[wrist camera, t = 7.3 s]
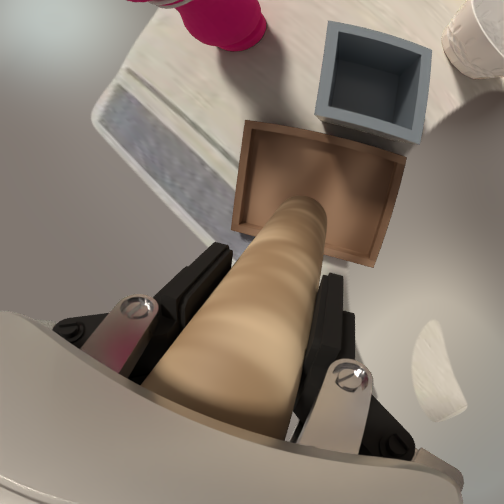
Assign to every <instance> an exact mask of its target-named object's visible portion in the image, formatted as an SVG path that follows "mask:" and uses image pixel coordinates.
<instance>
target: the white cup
mask: <svg viewBox="0 0 504 504" xmlns="http://www.w3.org/2000/svg"><path fill="white" fill-rule="evenodd" d="M441 40H442V44H443V49H444V52H445V53H446V55H447V57H448V58H449V60H450V62H451V63H452V64H453V65H454V66H455V67H456V68H457V69H458V70H459V71H460V72H461V73H462V74H464V75H466V76H468V77H470V78H472V79H485V78H496V77H504V0H467V1H466V2H465V3H464V4H463V5H462V7H461V8H460V9H459V10H458V11H457V13H456V14H455V16H454V17H453V18H452V19H451V21H450V23H449V24H448V25H447V27H446V28H445V29H444V31H443V35H442V38H441Z"/></svg>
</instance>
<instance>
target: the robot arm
mask: <svg viewBox="0 0 504 504" xmlns="http://www.w3.org/2000/svg"><path fill="white" fill-rule="evenodd" d="M232 256H233V251H232V250H230V249H229V246H228V245H225V244H221V243H217V242H214V243H213V244H212V245H211V246H210V247H209V248H208V249H207V250H205V251H204V253H202V254H201V255H200V256H199V257H198V258H197V259H196V260H195V261H194V262H193V263H192V264H191V265H190V266H186V267H185V268H183V269H182V270H181V271H180V272H179V273H178V274H177V275H176V276H175V277H174V278H173V279H172V280H171V281H170V282H169V283H168V284H166V285H165V286H164V287H163V288H162V289H161V290H160V291H159V292H158V293H157V294H156V295H155V296H154V297H153V298H152V297H150V296H147V295H142V294H133V295H129V296H127V297H124V298H123V299H121V300H120V301H119V302H118V303H117V304H116V306H115V307H114V308H113V309H112V310H111V311H110V313H105V314H97V315H89V316H82V317H74V318H67V319H64V320H62V321H60V322H59V323H57V324H56V322H55V321H45V320H36V319H32V318H29V317H27V316H25V315H22V314H19V313H15V312H11V311H0V504H463V499H462V494H461V491H462V489H463V484H464V480H463V476H462V474H461V472H460V471H459V470H458V469H456V468H455V467H453V466H451V465H450V464H448V463H446V462H445V461H443V460H441V459H439V458H438V457H436V456H435V455H433V454H431V453H430V452H428V451H426V450H425V449H423V448H420V449H419V450H418V449H416V448H415V443H414V440H413V438H412V436H411V435H410V434H409V433H408V432H407V431H406V430H405V429H404V428H403V426H402V425H401V424H400V423H399V422H398V421H397V420H396V419H395V418H394V417H393V416H392V415H391V414H390V413H389V412H388V411H387V410H386V409H385V408H384V407H383V406H382V405H381V404H380V403H379V402H378V400H377V399H376V398H375V397H374V396H373V395H372V389H373V377H372V374H371V372H370V371H369V370H368V368H367V367H366V366H364V365H363V364H362V363H360V362H358V361H356V360H355V315H354V313H351V312H347V311H343V276H341V275H337V274H333V273H329V275H328V276H326V275H323V277H322V280H321V283H320V286H319V289H318V292H317V297H316V302H315V308H314V313H313V319H312V324H311V329H310V334H309V339H308V344H307V349H306V354H305V358H304V363H303V369H302V375H301V379H300V384H299V388H298V392H297V396H296V400H295V404H294V408H293V412H294V413H295V414H296V416H297V417H298V418H299V420H298V422H297V424H296V426H295V429H294V431H293V433H292V435H291V437H290V439H289V441H288V442H287V441H283V440H279V439H276V438H272V437H268V436H265V435H261V434H258V433H254V432H251V431H248V430H245V429H242V428H239V427H236V426H233V425H230V424H227V423H224V422H221V421H219V420H216V419H213V418H211V417H208V416H205V415H203V414H200V413H198V412H195V411H193V410H191V409H188V408H186V407H184V406H181V405H179V404H177V403H175V402H173V401H170V400H168V399H166V398H164V397H162V396H160V395H158V394H156V393H154V392H152V391H150V390H148V389H146V388H144V387H142V386H140V385H141V384H142V383H143V382H144V380H145V379H146V378H147V376H148V375H149V374H150V372H151V371H152V370H153V369H154V367H155V366H156V365H157V363H158V362H159V361H160V359H161V358H162V357H163V355H164V354H165V353H166V352H167V350H168V349H169V348H170V346H171V345H172V344H173V342H174V341H175V340H176V339H177V337H178V336H179V335H180V333H181V332H182V331H183V330H184V328H185V327H186V326H187V324H188V323H189V322H190V320H191V319H192V318H193V317H194V315H195V314H196V313H197V311H198V310H199V309H200V308H201V306H202V305H203V304H204V302H205V301H206V300H207V299H208V297H209V296H210V295H211V293H212V292H213V291H214V290H215V288H216V287H217V286H218V284H219V283H220V282H221V281H222V279H223V278H224V277H225V275H226V274H227V273H228V272H229V270H230V269H231V264H232Z"/></svg>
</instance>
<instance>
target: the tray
mask: <svg viewBox="0 0 504 504" xmlns="http://www.w3.org/2000/svg"><path fill="white" fill-rule="evenodd" d="M406 159H407V157H404V156H402V155H399V154H396V153H393V152H389V151H386V150H383V149H380V148H377V147H373V146H370V145H366V144H363V143H359V142H356V141H352V140H348V139H344V138H340V137H336V136H332V135H328V134H323V133H319V132H314V131H310V130H305V129H300V128H294V127H289V126H283V125H277V124H271V123H264V122H257V121H250V120H245V125H244V132H243V139H242V146H241V154H240V161H239V169H238V176H237V184H236V192H235V200H234V208H233V216H232V225H231V230H233V231H237V232H240V233H244V234H248V235H252V236H257V235H258V233H259V232H260V231H261V229H262V228H263V227H264V226H265V224H266V223H267V222H268V221H269V219H270V218H271V217H272V216H273V214H274V213H275V212H276V210H277V209H278V208H279V207H280V205H281V204H282V203H283V202H284V201H285V200H287V199H288V198H290V197H293V196H299V195H302V196H308V197H311V198H313V199H315V200H316V201H318V202H319V203H320V204H321V205H322V207H323V208H324V210H325V212H326V215H327V231H326V239H325V247H324V255H328V256H332V257H335V258H339V259H343V260H346V261H350V262H354V263H357V264H361V265H364V266H368V267H372V268H374V265H375V262H376V259H377V257H378V254H379V251H380V249H381V246H382V243H383V239H384V237H385V234H386V231H387V228H388V225H389V222H390V218H391V215H392V212H393V208H394V205H395V202H396V198H397V195H398V190H399V187H400V183H401V180H402V176H403V172H404V168H405V163H406Z"/></svg>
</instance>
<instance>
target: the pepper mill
mask: <svg viewBox="0 0 504 504" xmlns="http://www.w3.org/2000/svg"><path fill="white" fill-rule="evenodd" d="M127 1H132V2H147V1H148V2H149V3H151V4H155V5H156V6H158V7H160V8H165V9H169V8H175V9H176V10H178V12H179V13H180V15H181V17H182V20H183V22H184V25H185V27H186V28H187V30H188V31H189V32H190V34H191V35H192V36H193V37H195V38H196V39H197V40H199V41H200V42H202V43H204V44H207V45H211V46H218V47H220V48H222V49H224V50H227V51H242V50H246V49H248V48H250V47H252V46H254V45H255V44H257V43H258V42H259V41H260V39H261V38H262V37H263V35H264V33H265V30H266V20H265V18H264V16H263V14H262V13H261V8H260V5H259V2H258V0H127Z"/></svg>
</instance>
